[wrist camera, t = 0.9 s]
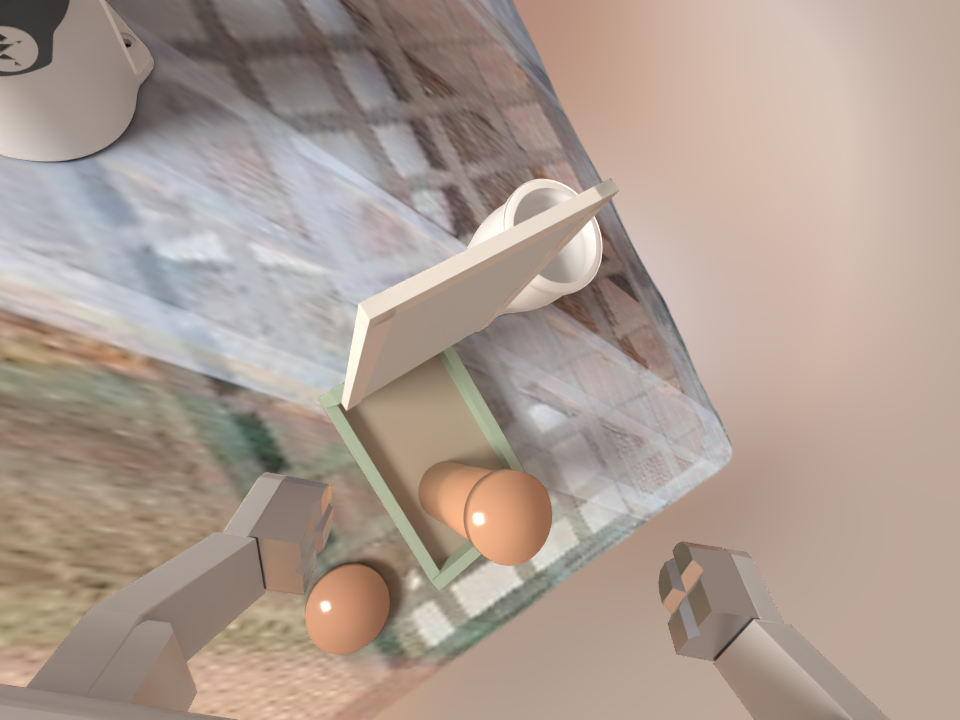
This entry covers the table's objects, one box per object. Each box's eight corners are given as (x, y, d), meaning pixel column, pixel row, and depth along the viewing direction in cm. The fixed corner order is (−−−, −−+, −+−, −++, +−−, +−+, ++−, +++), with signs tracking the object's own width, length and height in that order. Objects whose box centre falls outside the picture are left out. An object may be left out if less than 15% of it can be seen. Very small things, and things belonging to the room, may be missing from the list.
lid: (346, 410, 33) (341, 402, 33) (487, 326, 39) (483, 319, 39) (369, 319, 16) (358, 303, 16) (619, 190, 21) (610, 178, 22)
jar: (427, 262, 51) (481, 204, 37) (495, 225, 55) (566, 161, 42) (476, 342, 52) (546, 314, 39) (539, 300, 56) (622, 262, 43)
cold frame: (317, 398, 44) (329, 390, 34) (433, 332, 50) (475, 307, 39) (430, 580, 47) (476, 629, 36) (528, 497, 52) (594, 517, 41)
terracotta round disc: (288, 600, 41) (289, 605, 40) (361, 546, 44) (363, 549, 43) (332, 666, 42) (334, 673, 41) (401, 608, 45) (404, 613, 44)
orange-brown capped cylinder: (402, 482, 46) (454, 508, 32) (455, 444, 49) (524, 453, 35) (436, 537, 46) (501, 585, 33) (486, 497, 49) (566, 525, 36)
